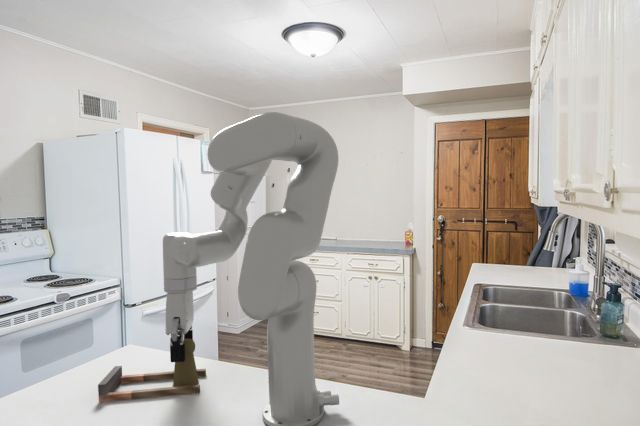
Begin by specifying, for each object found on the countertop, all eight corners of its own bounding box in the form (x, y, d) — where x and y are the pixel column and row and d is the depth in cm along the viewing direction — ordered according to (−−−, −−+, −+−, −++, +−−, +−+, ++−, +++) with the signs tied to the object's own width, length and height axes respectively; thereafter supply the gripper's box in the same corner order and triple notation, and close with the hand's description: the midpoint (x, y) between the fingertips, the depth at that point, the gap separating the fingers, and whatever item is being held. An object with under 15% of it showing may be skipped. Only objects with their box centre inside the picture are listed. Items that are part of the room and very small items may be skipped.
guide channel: (205, 374, 106) (205, 359, 106) (199, 393, 96) (198, 376, 95) (115, 382, 103) (114, 366, 103) (98, 402, 93) (97, 384, 93)
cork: (191, 391, 97) (188, 345, 96) (167, 389, 98) (165, 344, 97) (203, 380, 103) (201, 336, 102) (181, 378, 104) (179, 335, 103)
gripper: (172, 277, 108) (174, 341, 108) (154, 293, 90) (156, 369, 91) (202, 276, 108) (203, 339, 109) (189, 291, 91) (191, 367, 92)
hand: (182, 353), depth 100 cm, fingers open, 9 cm apart
